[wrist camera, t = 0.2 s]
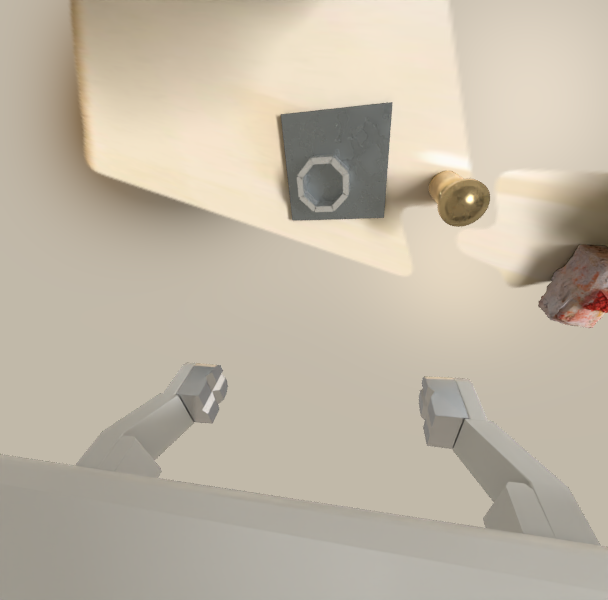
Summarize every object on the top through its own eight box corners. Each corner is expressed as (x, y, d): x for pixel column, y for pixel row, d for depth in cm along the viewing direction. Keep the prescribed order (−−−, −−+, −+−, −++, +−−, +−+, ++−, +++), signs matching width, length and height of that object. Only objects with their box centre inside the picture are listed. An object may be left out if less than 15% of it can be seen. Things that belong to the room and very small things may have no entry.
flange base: (282, 114, 47) (275, 114, 43) (391, 102, 43) (394, 101, 40) (293, 218, 57) (288, 226, 53) (383, 216, 53) (384, 223, 50)
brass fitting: (427, 167, 47) (444, 181, 38) (468, 164, 46) (496, 178, 36) (422, 205, 51) (435, 227, 41) (459, 203, 50) (482, 225, 40)
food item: (570, 307, 57) (604, 339, 49) (529, 301, 58) (555, 332, 50) (617, 246, 49) (667, 272, 41) (569, 240, 50) (608, 265, 42)
